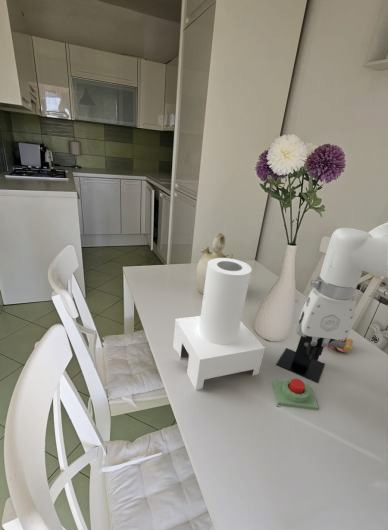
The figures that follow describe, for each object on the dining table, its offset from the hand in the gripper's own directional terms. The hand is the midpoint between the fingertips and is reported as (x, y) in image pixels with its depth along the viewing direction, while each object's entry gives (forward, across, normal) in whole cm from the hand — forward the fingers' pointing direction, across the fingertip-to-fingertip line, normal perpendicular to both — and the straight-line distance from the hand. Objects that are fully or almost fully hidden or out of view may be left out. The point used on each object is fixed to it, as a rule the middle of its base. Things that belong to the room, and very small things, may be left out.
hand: (312, 356), depth 73 cm
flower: (+14, +18, +25) cm, 34 cm away
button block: (+14, -1, 0) cm, 14 cm away
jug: (+13, -23, +57) cm, 63 cm away
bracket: (+14, +4, +13) cm, 19 cm away
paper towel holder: (+14, -22, +11) cm, 28 cm away
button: (+11, -1, 0) cm, 11 cm away
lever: (+4, +8, +11) cm, 14 cm away
